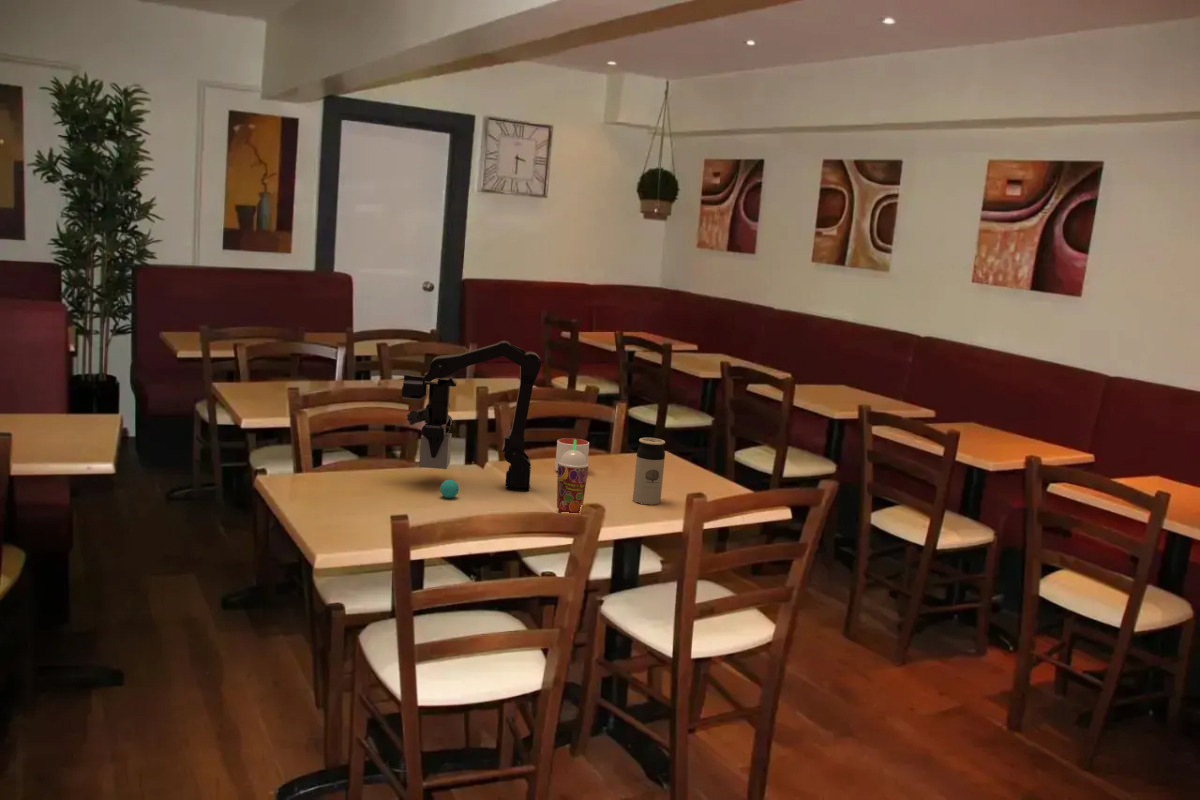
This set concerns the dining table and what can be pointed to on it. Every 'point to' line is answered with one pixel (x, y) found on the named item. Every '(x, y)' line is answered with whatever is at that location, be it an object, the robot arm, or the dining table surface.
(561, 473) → the smoothie
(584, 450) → the cup
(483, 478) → the dining table surface
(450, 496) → the ball
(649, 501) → the travel mug
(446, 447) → the grey matte cube
